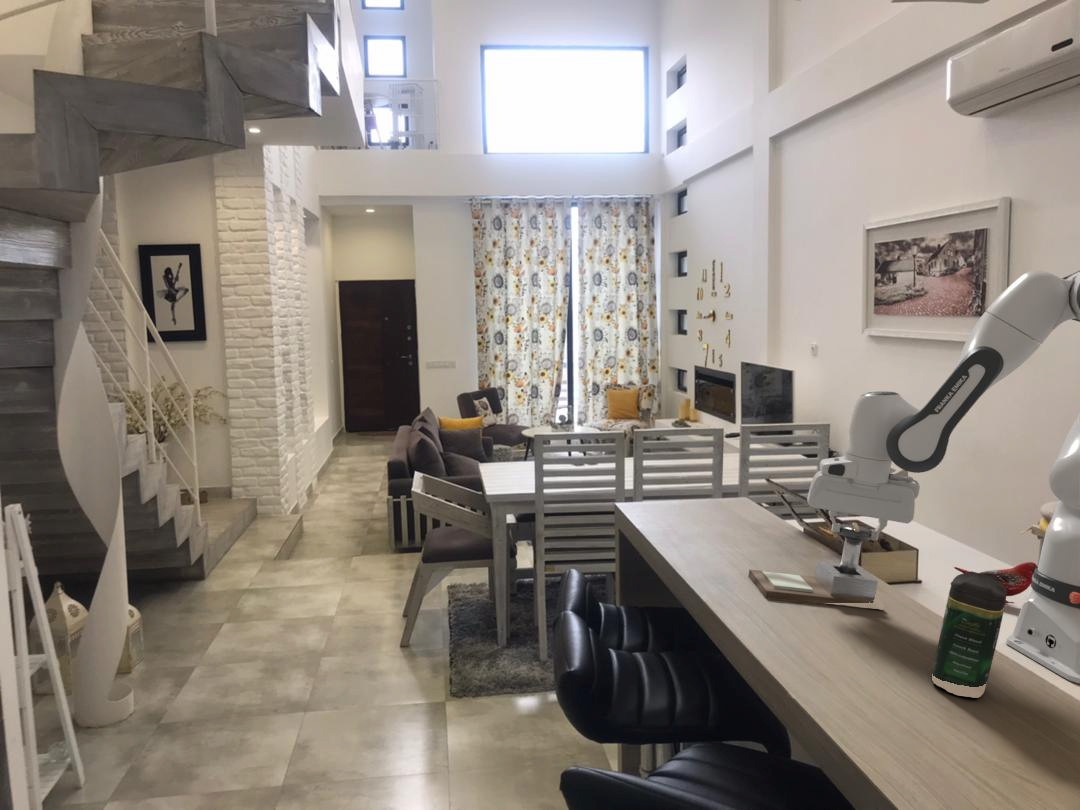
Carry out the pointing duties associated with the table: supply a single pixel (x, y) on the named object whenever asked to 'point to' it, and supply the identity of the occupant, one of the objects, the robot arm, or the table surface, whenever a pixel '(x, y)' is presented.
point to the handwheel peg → (852, 546)
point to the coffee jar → (970, 630)
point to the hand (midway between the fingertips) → (854, 535)
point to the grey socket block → (845, 581)
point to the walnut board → (796, 588)
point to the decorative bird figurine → (1012, 577)
